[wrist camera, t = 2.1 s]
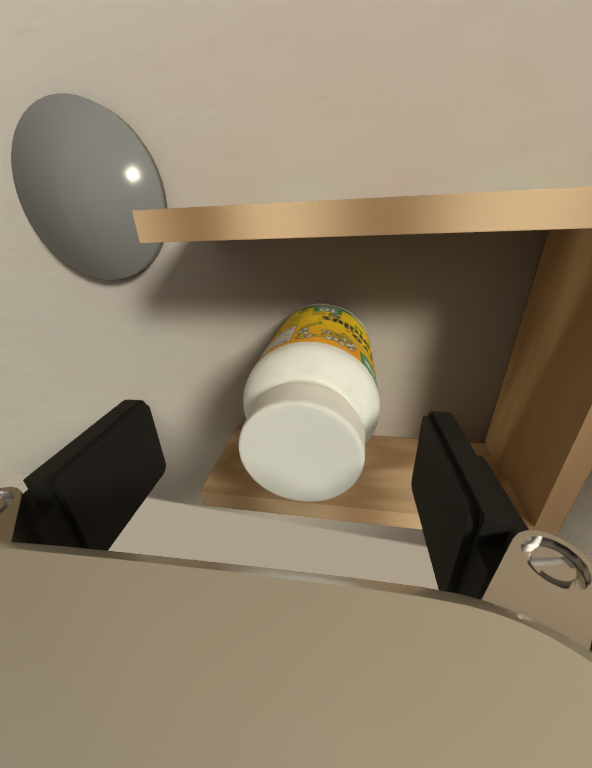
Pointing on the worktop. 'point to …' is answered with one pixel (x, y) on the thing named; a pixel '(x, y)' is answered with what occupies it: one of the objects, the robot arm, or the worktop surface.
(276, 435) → the supplement bottle
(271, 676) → the robot arm
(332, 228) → the wooden u-frame
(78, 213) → the slate coaster
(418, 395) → the worktop surface
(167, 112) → the worktop surface
